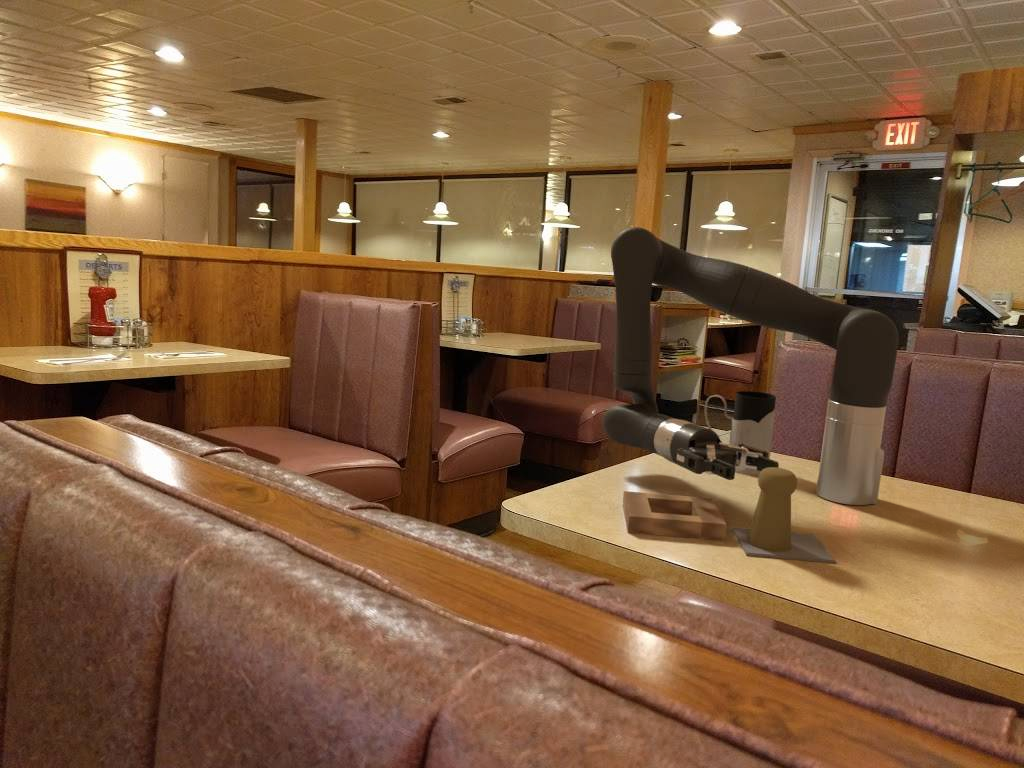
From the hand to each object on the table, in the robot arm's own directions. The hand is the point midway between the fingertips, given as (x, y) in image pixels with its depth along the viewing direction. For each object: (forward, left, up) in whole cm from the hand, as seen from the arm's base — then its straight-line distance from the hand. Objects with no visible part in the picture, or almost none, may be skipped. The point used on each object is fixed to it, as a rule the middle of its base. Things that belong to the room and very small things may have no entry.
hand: (755, 471), depth 113 cm
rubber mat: (-3, +6, -9) cm, 11 cm away
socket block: (+12, 0, -9) cm, 15 cm away
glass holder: (-5, -37, -9) cm, 39 cm away
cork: (-1, +7, -9) cm, 11 cm away
